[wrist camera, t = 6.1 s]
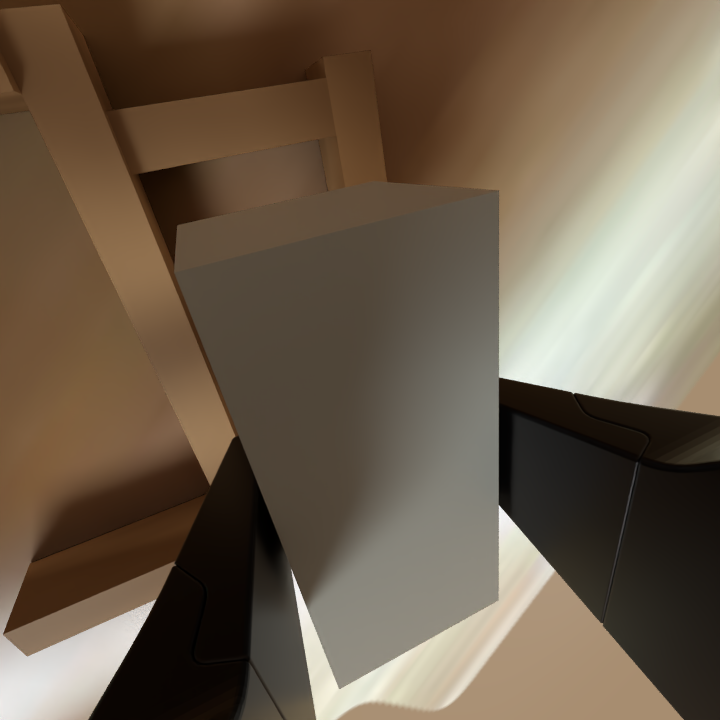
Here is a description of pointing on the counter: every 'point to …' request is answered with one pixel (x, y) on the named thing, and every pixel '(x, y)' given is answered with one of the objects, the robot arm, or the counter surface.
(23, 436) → the counter surface
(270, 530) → the robot arm
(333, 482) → the matte grey rectangular prism
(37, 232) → the counter surface
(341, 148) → the jig
